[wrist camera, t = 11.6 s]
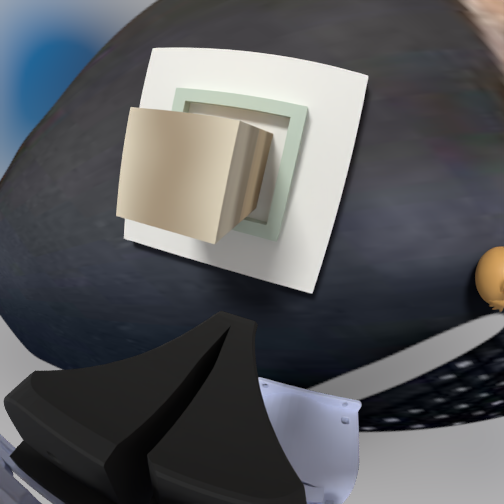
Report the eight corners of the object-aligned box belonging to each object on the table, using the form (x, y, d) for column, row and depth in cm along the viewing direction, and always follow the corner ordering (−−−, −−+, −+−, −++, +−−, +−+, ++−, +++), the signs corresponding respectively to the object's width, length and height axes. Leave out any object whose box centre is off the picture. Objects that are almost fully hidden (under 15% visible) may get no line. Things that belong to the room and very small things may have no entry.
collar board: (366, 79, 15) (370, 72, 13) (312, 287, 20) (311, 299, 18) (159, 51, 17) (146, 45, 15) (131, 234, 22) (117, 241, 20)
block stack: (273, 133, 17) (239, 120, 10) (256, 208, 18) (214, 244, 11) (200, 120, 17) (130, 107, 10) (187, 191, 19) (116, 215, 12)
